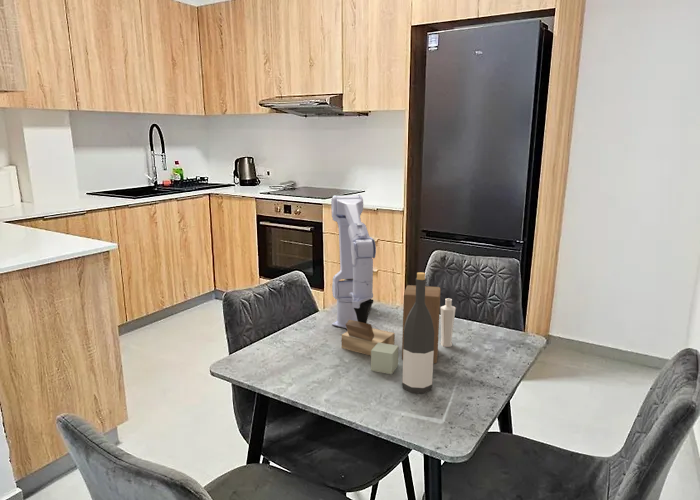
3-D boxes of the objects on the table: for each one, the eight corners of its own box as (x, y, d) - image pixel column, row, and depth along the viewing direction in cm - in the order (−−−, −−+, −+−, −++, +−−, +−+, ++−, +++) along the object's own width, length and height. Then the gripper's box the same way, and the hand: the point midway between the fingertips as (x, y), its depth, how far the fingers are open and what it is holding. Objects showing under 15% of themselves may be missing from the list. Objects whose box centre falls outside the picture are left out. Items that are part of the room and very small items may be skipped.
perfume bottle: (453, 343, 152) (455, 297, 149) (454, 348, 148) (457, 301, 145) (438, 342, 153) (440, 296, 150) (439, 347, 148) (441, 301, 145)
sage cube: (377, 362, 139) (378, 342, 137) (398, 365, 137) (398, 345, 135) (370, 370, 133) (371, 350, 132) (391, 374, 131) (392, 353, 130)
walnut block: (352, 331, 147) (349, 319, 145) (374, 336, 143) (371, 324, 141) (349, 336, 146) (345, 324, 143) (371, 341, 142) (367, 329, 139)
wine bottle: (426, 396, 119) (431, 279, 113) (396, 389, 123) (399, 274, 117) (437, 383, 126) (442, 271, 120) (408, 376, 130) (411, 267, 124)
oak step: (358, 337, 156) (358, 324, 155) (394, 346, 150) (394, 332, 149) (341, 348, 148) (341, 334, 147) (378, 357, 141) (379, 343, 140)
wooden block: (436, 364, 137) (439, 296, 133) (401, 361, 139) (403, 294, 135) (437, 350, 147) (440, 286, 143) (404, 347, 149) (406, 284, 145)
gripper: (357, 272, 149) (356, 314, 152) (341, 285, 136) (341, 330, 138) (379, 274, 147) (378, 317, 150) (366, 287, 134) (365, 333, 136)
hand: (362, 324), depth 144 cm, fingers closed
